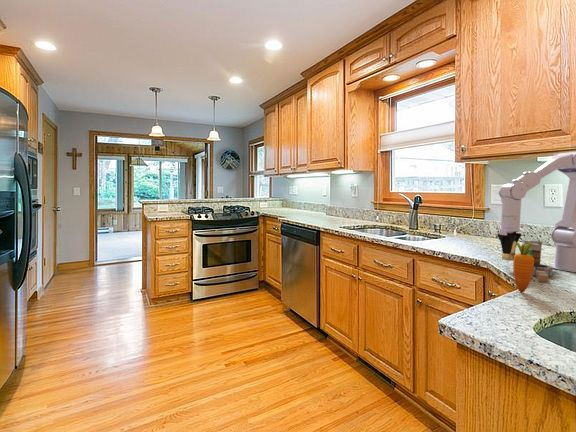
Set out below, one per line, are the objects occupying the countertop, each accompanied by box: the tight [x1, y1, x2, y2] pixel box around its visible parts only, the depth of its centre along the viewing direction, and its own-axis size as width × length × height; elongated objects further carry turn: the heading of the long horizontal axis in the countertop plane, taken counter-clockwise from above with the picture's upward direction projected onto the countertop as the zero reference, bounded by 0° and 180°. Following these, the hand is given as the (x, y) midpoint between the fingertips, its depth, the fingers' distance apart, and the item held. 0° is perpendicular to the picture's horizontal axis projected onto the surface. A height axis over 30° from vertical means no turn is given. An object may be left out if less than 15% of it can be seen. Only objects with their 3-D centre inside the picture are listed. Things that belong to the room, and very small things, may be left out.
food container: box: [521, 240, 543, 264], centre depth 125 cm, size 12×6×10 cm, turn 141°
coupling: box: [532, 263, 554, 284], centre depth 116 cm, size 15×16×3 cm
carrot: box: [512, 242, 534, 294], centre depth 95 cm, size 5×5×15 cm
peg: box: [501, 241, 517, 261], centre depth 121 cm, size 4×4×7 cm
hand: (508, 252), depth 121 cm, fingers closed on peg, 4 cm apart
